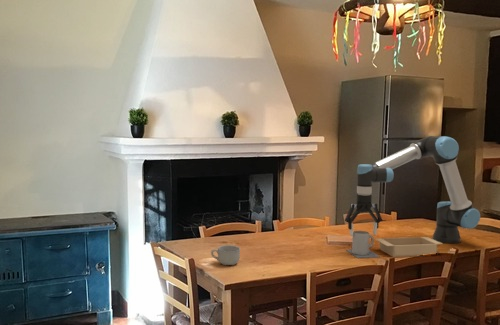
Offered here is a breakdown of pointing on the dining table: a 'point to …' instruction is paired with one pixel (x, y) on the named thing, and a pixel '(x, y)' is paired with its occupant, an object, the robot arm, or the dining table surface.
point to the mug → (361, 242)
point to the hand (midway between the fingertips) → (363, 235)
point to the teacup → (227, 254)
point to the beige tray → (408, 246)
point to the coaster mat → (370, 255)
